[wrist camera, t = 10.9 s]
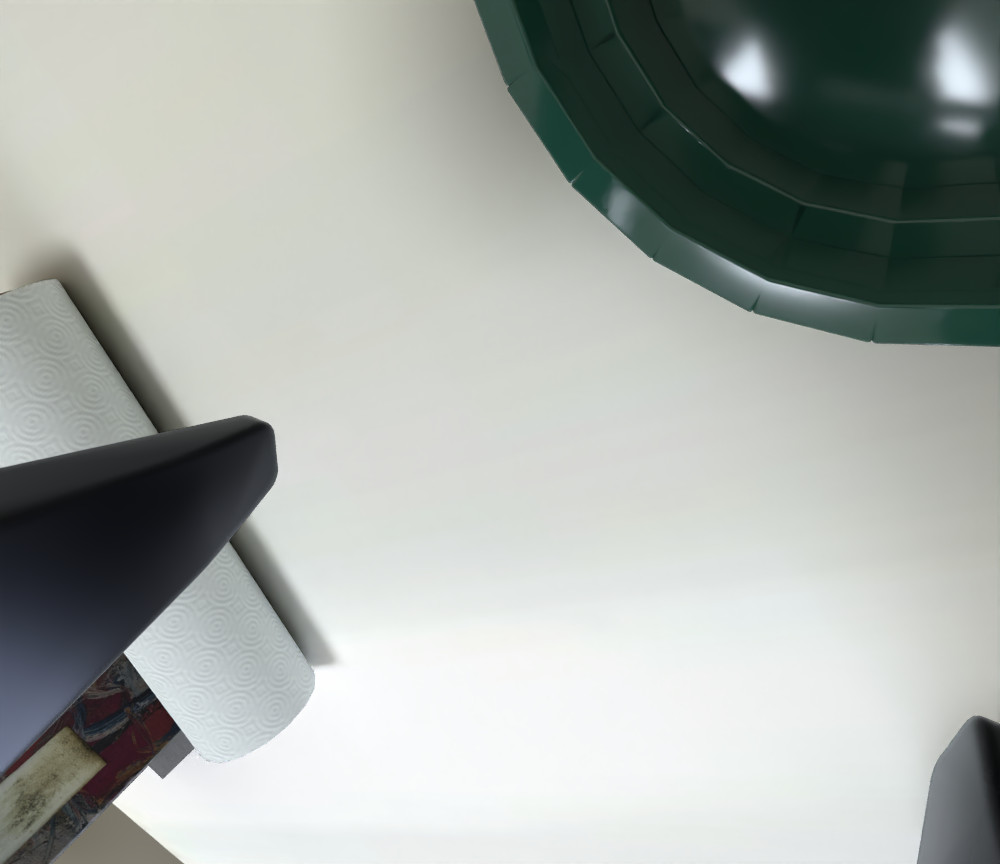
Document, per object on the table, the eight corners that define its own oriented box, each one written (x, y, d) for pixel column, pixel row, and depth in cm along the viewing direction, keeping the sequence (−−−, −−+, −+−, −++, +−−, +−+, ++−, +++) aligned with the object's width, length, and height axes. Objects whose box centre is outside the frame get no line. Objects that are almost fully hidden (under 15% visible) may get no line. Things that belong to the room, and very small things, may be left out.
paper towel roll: (304, 736, 32) (-5, 283, 26) (183, 787, 33) (-147, 357, 27) (333, 640, 39) (94, 263, 33) (233, 683, 40) (-21, 322, 34)
